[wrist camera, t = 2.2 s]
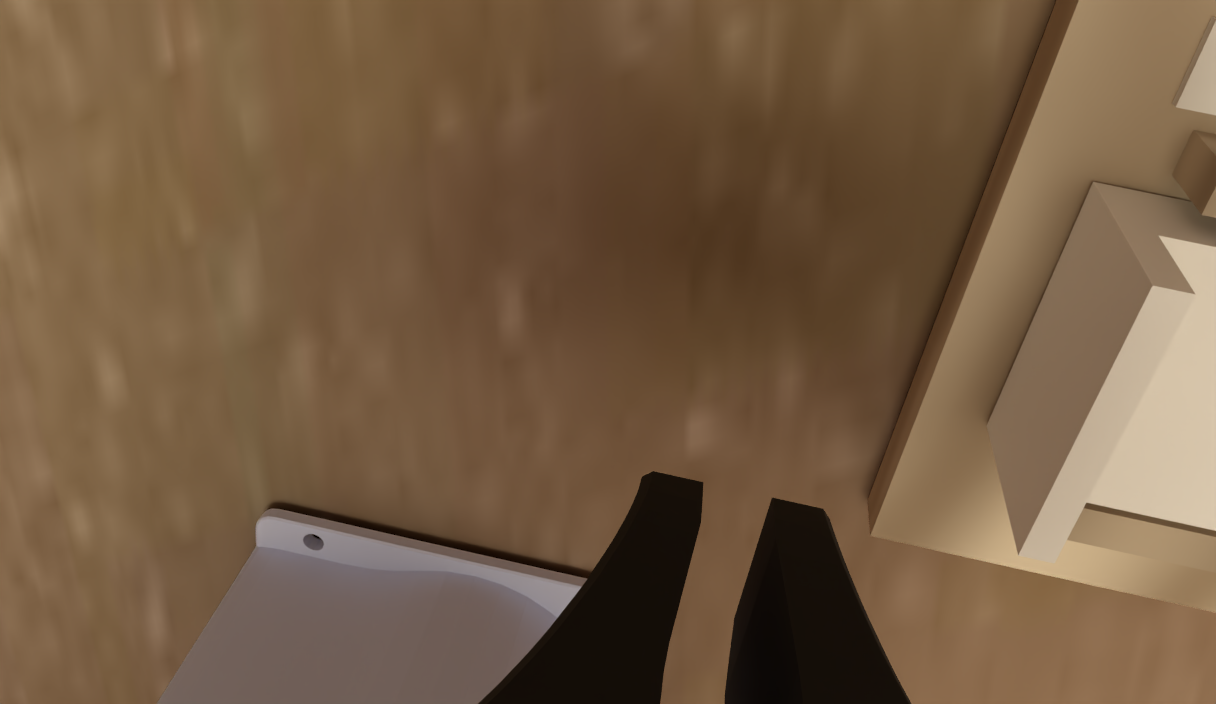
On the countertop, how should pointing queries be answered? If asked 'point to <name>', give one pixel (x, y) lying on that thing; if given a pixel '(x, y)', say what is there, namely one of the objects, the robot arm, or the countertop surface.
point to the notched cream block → (1115, 375)
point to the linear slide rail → (1021, 270)
